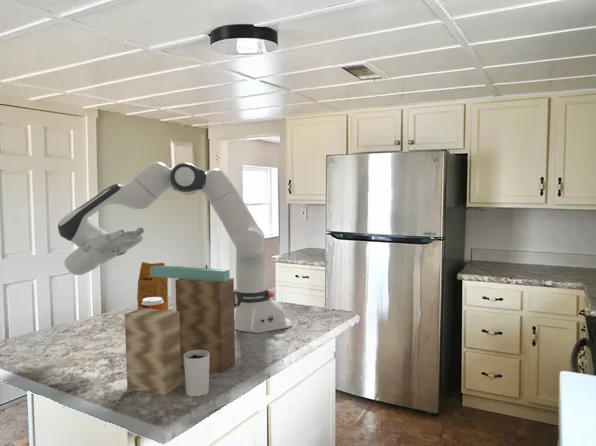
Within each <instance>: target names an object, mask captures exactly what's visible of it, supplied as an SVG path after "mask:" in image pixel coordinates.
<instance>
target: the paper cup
mask: <svg viewBox="0 0 596 446" xmlns="http://www.w3.org/2000/svg"><path fill="white" fill-rule="evenodd" d="M163 302H164V301H163V299H162V298H161V297H149V298H144V299H143V300H142V303H141V304H142V308H149V309H159V310H163Z"/></svg>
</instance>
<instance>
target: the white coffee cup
mask: <svg viewBox="0 0 596 446" xmlns="http://www.w3.org/2000/svg"><path fill="white" fill-rule="evenodd" d="M209 358H210V353H209V352H208V351H206V350H193V351H189V352H186V353H185V354H184V367H183V369H184V381H185V393H186V395H187V396H188V395H189V396H188V397H191V396H198V397H202V396H201V395H203V396H205V395H207V394H208V393H209V389H210V388H209V387H210V371H209Z"/></svg>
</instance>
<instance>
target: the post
mask: <svg viewBox="0 0 596 446" xmlns="http://www.w3.org/2000/svg"><path fill="white" fill-rule="evenodd" d="M234 280H235V278H234V277H230V280H228V281H225V282H222V281H207V280H193V279H178V280H175V283H176V311H179V318H180V356H181V368H184V354H185V353H186V352H189V351H193V350H206V351H208V352H209V353H210V358H209V372H212V373H213V372H215V373H224V372H225V371H226V370H228V369H229V368H230V367H232V366H233V365H235V364H236V343H235V342H236V340H235V338H236V336H235V333H236V332H235V331H236V329H235V326H234V320H235V304H234V291H235V285H234V284H235V283H234V282H235V281H234Z"/></svg>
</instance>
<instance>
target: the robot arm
mask: <svg viewBox="0 0 596 446" xmlns="http://www.w3.org/2000/svg"><path fill="white" fill-rule="evenodd" d="M170 189H173V190H174V191H175V192H178V193H180V194H182V195H186V196H187V195H188V196H189V195H194V194H195V193H197V192H200V193H202V194H204V196H205V197H206V199H207V200H208V201H209V204H210V206H211V207H212V208H213V210H214V212H215V213H216V215H217V216H218V218H219V220H220V221H221V223H222V225H223V227H224V229H225V231H226V233H227V234H228V236H229V238H230V240H231V242H232V243H233V245H234V247H235V250H236V251H235V252H236V255H235V256H236V257H235V259H236V261H235V262H236V263H235V265H236V266H235V275H236V276H235V278H236V279H235V280H236V282H235V283H236V286H235V287H236V288H235V290H236V291H235V290H234V291H235V304H234V305H235V313H234V326H235V331H239V332H248V333H254V334H261V333H266V332H272V331H276V330H282V329H287V328H291V327H292V322H291V320H290V319H289V318H287V317H286V313H285V310H284V308H283V307H282V306H281V305H279V304H278V303H277V302H275V301H274V300H273V299H271V298H273V297H274V296H275V294H274V292H272V291H270V290H268V289H266V262H265V261H266V260H265V258H266V256H265V249H266V248H265V244H266V241H265V240H266V239H265V234H264V232H263V230H262V229H261V228H260V227H259V226H258V223H257V222H256V220H255V219H254V217H253V215H252V214H251V212H250V210H249V208H248V206H247V205H246V203H245V202H244V200H243V198H242V196H241V195H240V193H239V192H238V190H237V188H236V187H235V185H234V184H233V182H232V180H231V179H230V178H229V177H228V176H227V174H226V173H225V172H224V171H223V170H222V169H220V168H212V169H208V170H206V171H205V170H203V169H202V168H200V167H198V166H196V165H194V164H192V163H189V162H181V163H178V164H176V165H175V166H174V167H173V168H171V167H169V165H167V164H165V163H163V162H160V161H154V162H151V163H150V164H149V165H148V166H146V167H144V168H143V169H142V170H141V171H140V172H139V173H137V174H136V175H135V176H134V177H133V178H132V179H131V180H129V181H127V182H124V183H121V184H120V183H114V184H112V185H110V186H109V187H107V188H105V189H103V190H102V191H101V192H98V194H96V195H95V196H94V197H92V198H91V199H88V200H87V201H86V202H84V204H82V205H80V206H79V207H77V208H76V209H74V210H72V211H71V212H69V213H67V214H66V215H65V216H63V217H62V218H61V219H60V220H59V222H58V224H57V230H58V233H59V236H60V237H62V238H64V239H65V240H67V241H69V242H71V243H72V244H74V245H75V246H77V247H78V248H77V249H75V250H74V251H72V252H71V253H70V254H69V255H68V256H67V257H66V258H65V259H64V260H63V261H64V266H65V268H66V270H67V271H69V272H70V273H71V274H73V275H75V276H82V275H85V274H88V273H89V272H91V271H93V270H95V269H97V268H98V267H99V266H100V265H103V264H105V263H107V262H108V261H110V260H113V259H114V258H116V257H119V256H122V255H124V254H126V253H128V250H131V248H133V247H135V246H137V245H138V244H139V243H141V242H142V241H143V239H144V238H143V235H142V234H144V233H145V229H144V227H139V228H137V229H136V230H130V231H125V230H124V229H118V230H117V231H114V232H111V233H108V232H107V231H106V230H104V229H103V228H102V227H100V226H99V225H97V224H96V223H94V222H93V221H92V220H90V219H89V218H90V217H91V216H93V215H94V214H96V213H97V212H98V211H100V210H102V209H103V208H104V207H106V206H108V205H111V204H112V205H113V204H115V205H120V206H124V207H127V208H130V209H134V210H144V209H147V208H149V207H150V206H151V205H153V204H154V203H155V202H156V201H157V200H158V198H160V197H161V195H162V194H164V193H165V192H166V191H167V190H170Z"/></svg>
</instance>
